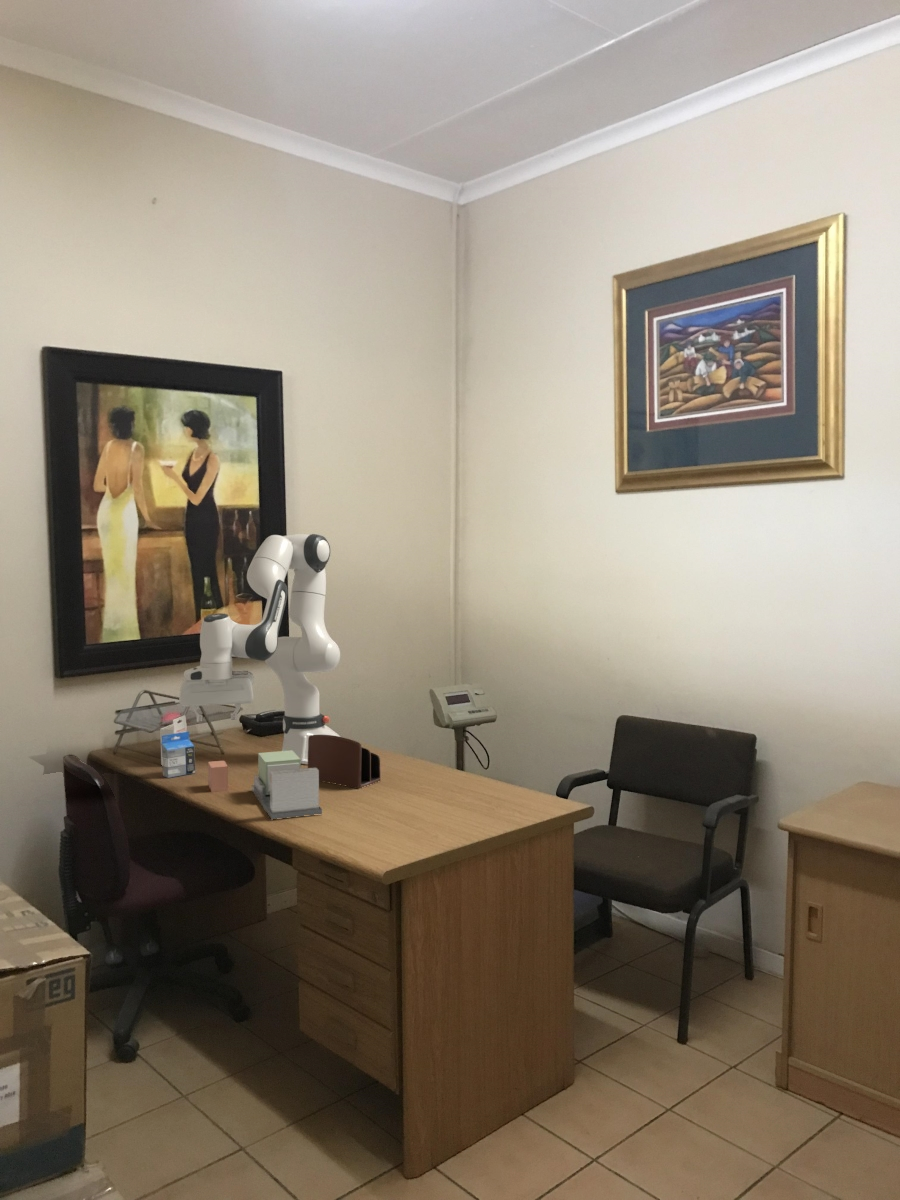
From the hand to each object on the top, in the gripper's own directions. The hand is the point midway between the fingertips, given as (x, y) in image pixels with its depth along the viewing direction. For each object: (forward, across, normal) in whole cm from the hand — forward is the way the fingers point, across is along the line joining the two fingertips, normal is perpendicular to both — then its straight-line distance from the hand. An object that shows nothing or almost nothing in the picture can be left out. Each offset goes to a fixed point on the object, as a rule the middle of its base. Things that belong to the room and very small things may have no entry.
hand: (216, 720), depth 266 cm
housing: (+20, 0, 0) cm, 20 cm away
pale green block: (+18, -15, +12) cm, 26 cm away
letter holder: (+20, -36, +4) cm, 41 cm away
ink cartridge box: (+20, +9, -34) cm, 40 cm away
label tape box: (+20, +9, -19) cm, 29 cm away
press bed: (+20, -15, +21) cm, 32 cm away
